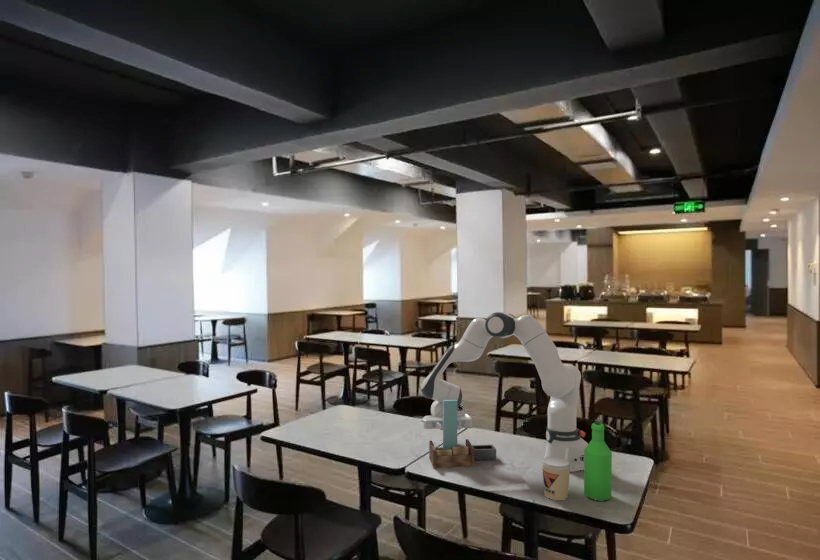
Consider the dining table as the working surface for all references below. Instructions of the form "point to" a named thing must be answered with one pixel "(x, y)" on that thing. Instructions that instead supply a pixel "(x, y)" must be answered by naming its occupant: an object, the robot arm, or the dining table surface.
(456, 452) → the oak offcut
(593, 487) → the bottle
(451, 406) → the teal panel
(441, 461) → the walnut rack
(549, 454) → the robot arm
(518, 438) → the dining table surface
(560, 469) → the coffee cup
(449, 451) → the oak offcut
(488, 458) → the charcoal holder
